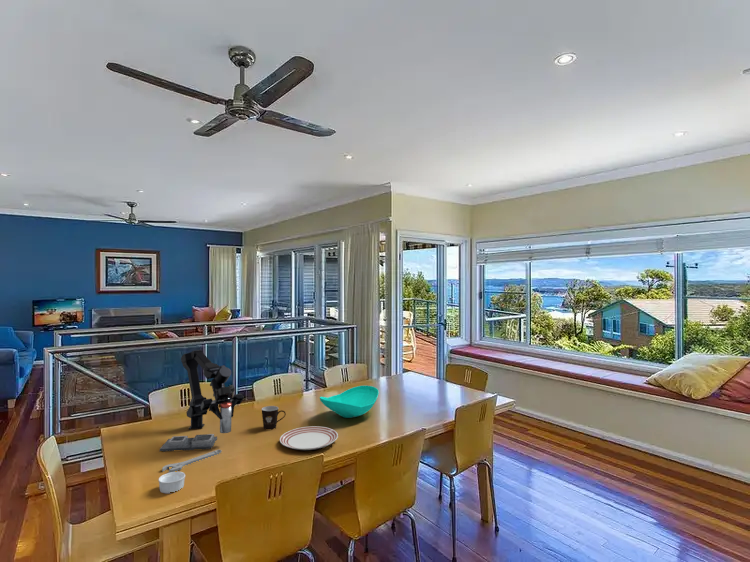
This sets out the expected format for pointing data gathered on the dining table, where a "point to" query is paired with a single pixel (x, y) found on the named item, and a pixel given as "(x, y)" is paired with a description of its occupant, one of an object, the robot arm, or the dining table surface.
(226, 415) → the silver and red cylinder
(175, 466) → the adjustable wrench
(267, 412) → the coffee mug
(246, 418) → the dining table surface
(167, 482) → the ramekin
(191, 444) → the fitting board
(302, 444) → the dinner plate
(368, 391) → the table top decor
